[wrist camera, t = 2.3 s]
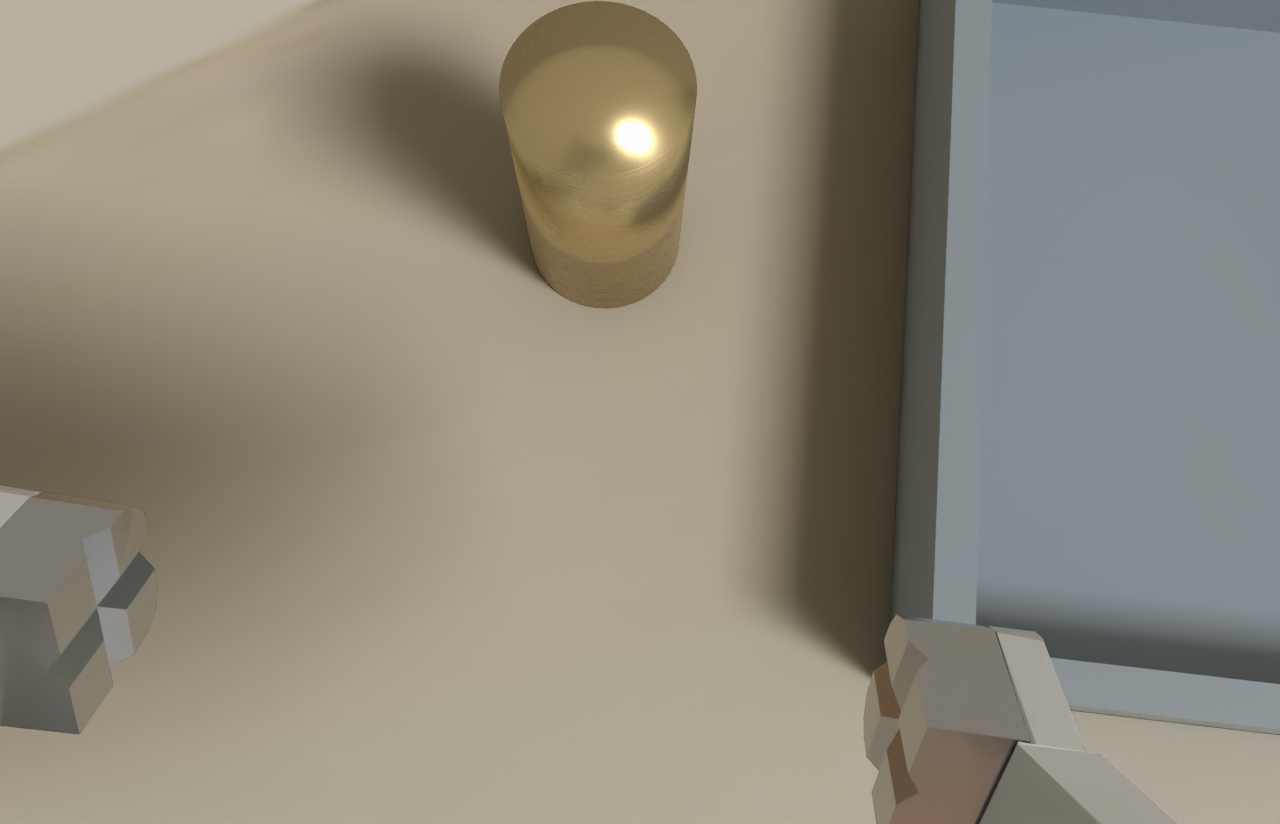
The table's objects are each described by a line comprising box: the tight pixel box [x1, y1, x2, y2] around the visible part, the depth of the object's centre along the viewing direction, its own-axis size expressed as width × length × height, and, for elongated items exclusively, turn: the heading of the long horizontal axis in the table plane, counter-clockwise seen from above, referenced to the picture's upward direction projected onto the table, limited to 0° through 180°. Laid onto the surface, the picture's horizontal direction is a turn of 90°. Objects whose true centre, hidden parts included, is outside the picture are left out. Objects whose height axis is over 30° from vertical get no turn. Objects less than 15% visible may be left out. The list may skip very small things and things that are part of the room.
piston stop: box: [499, 1, 697, 308], centre depth 27 cm, size 4×4×8 cm
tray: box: [890, 0, 1280, 735], centre depth 28 cm, size 22×16×4 cm
